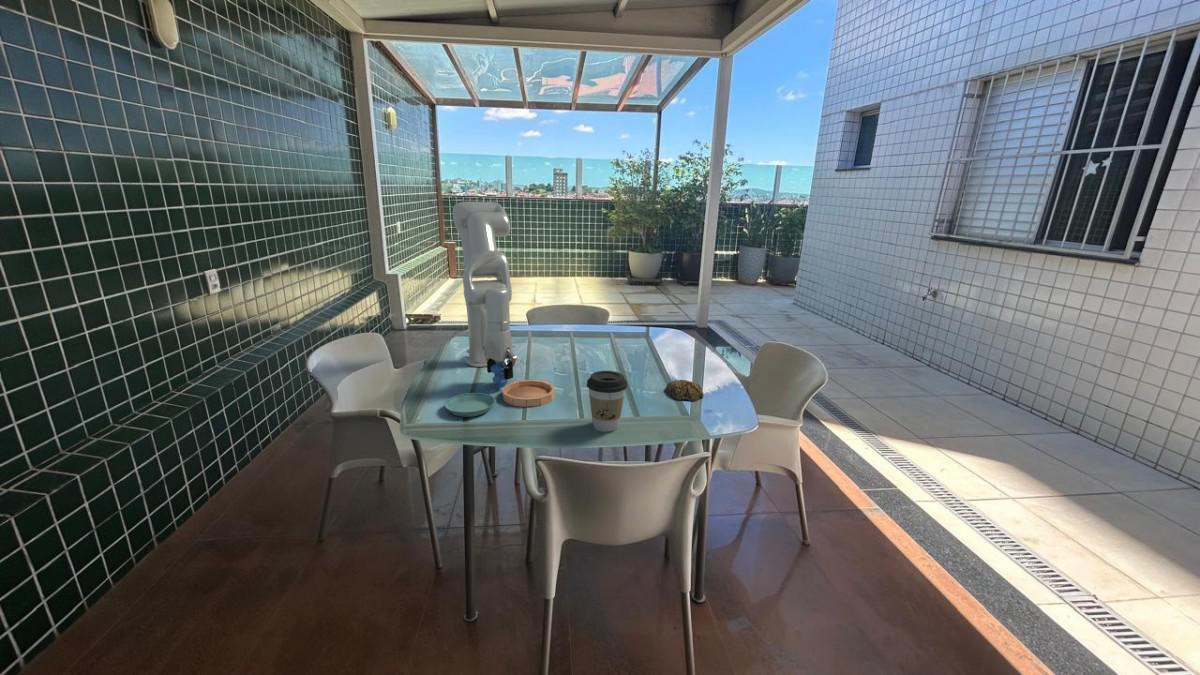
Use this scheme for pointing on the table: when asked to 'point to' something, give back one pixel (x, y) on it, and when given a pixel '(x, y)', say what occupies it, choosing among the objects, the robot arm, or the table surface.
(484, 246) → the robot arm
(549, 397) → the platter
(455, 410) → the saucer
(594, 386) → the coffee cup
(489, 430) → the table surface
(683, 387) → the bread roll
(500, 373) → the grapes
